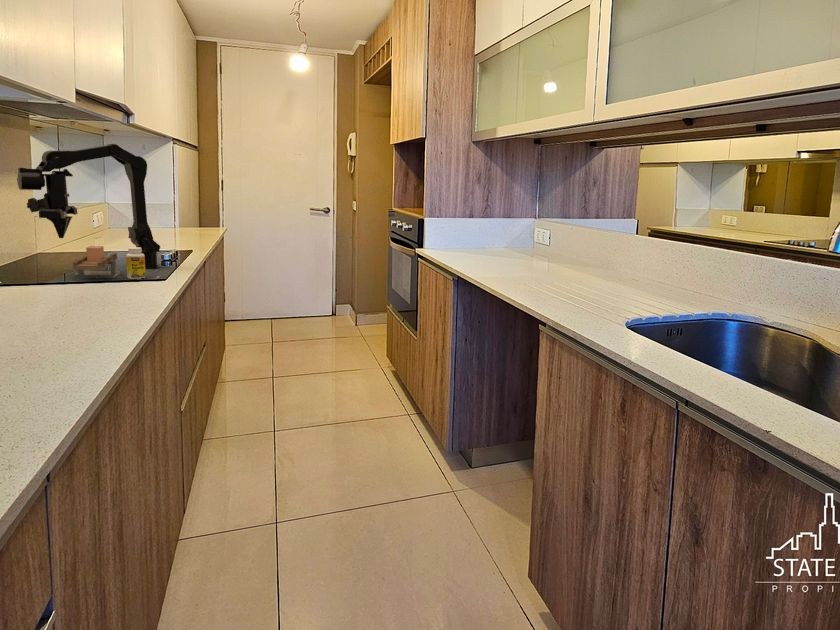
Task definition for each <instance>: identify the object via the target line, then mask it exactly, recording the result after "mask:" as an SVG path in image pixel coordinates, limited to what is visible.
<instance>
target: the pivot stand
mask: <svg viewBox="0 0 840 630" xmlns="http://www.w3.org/2000/svg"><path fill="white" fill-rule="evenodd" d="M109 265H110V266H109V267H110V270H85V269H76V270H77V272H76V273H75V274H73V278H74V279H76V278H77V279H78V278H79V279H110V278H111V279H115V278H117V276H119V275H121V270H117V261H116V260H115V261H110V264H109Z"/></svg>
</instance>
